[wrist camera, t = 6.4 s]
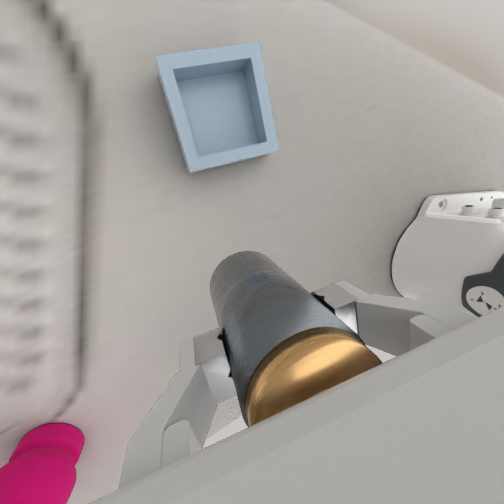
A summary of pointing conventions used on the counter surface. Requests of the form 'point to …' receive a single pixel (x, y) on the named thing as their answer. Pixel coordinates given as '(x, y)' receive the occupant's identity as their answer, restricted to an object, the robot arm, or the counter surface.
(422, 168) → the counter surface
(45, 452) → the pepper mill
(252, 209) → the counter surface
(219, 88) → the light blue square tray
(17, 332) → the counter surface
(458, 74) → the counter surface
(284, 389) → the cell
